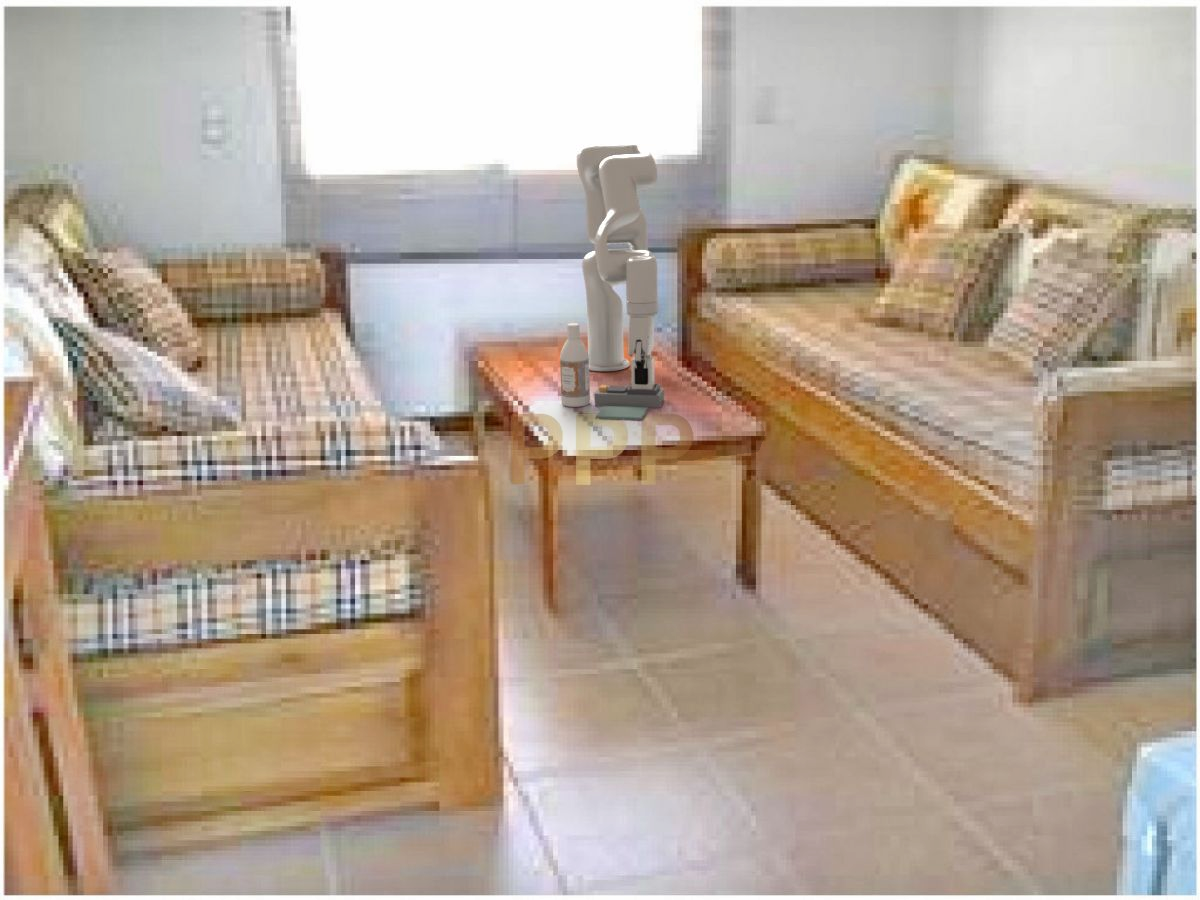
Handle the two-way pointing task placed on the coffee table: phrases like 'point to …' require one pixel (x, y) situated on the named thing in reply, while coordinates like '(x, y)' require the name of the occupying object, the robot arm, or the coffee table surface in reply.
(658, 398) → the power strip
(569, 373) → the bath foam
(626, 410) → the mat
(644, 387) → the block
